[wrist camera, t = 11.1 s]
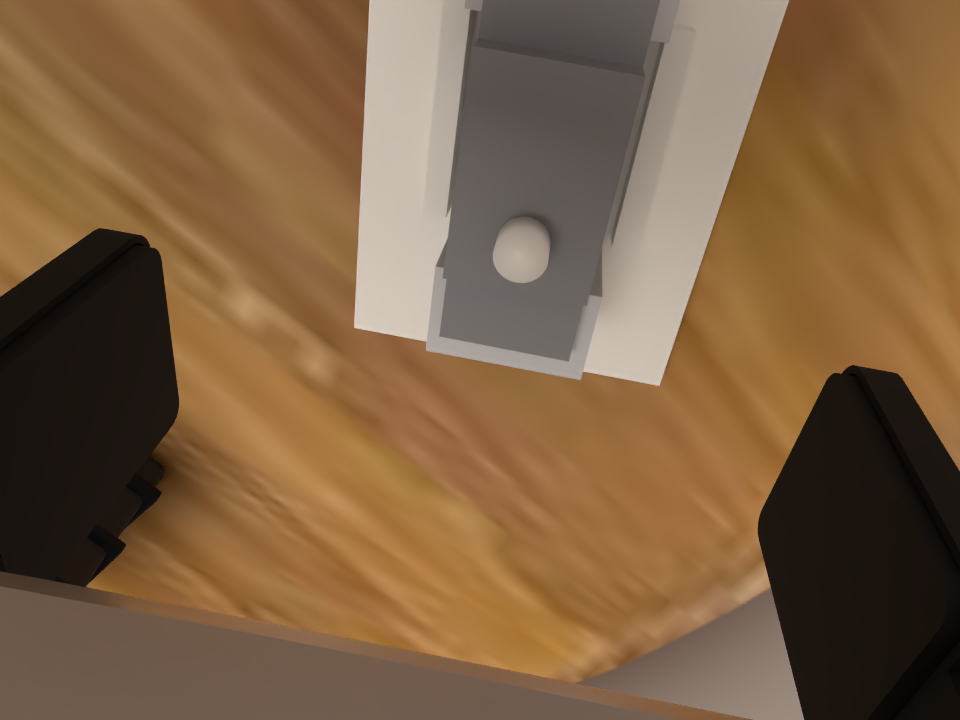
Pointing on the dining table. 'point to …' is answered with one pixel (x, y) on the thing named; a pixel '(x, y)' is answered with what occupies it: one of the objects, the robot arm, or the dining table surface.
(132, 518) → the black ridged block
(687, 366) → the dining table surface
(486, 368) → the dining table surface
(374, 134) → the cradle
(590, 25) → the servo
